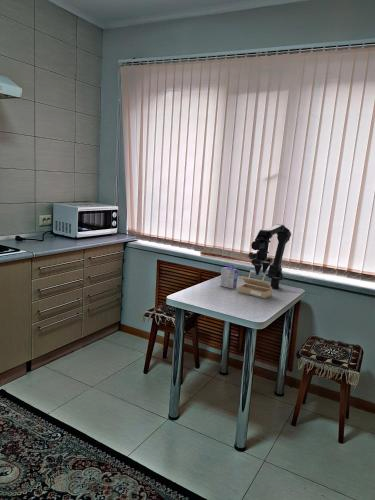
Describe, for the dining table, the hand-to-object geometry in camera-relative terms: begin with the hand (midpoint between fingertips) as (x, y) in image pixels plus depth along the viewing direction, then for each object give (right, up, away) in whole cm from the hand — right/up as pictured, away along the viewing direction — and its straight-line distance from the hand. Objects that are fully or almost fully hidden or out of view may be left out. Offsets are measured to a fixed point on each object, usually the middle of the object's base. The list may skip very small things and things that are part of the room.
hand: (260, 274), depth 241 cm
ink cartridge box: (-19, -9, +11) cm, 24 cm away
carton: (-4, -12, -2) cm, 13 cm away
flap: (-3, -5, -3) cm, 7 cm away
